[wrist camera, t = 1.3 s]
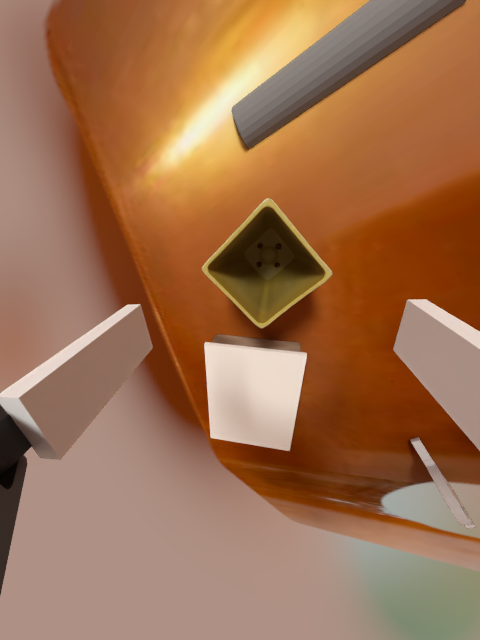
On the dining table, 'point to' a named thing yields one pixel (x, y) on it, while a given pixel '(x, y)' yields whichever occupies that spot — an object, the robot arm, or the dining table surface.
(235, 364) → the display ledge
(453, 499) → the decorative sign
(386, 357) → the dining table surface
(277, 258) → the flower pot
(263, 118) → the gray half cylinder
